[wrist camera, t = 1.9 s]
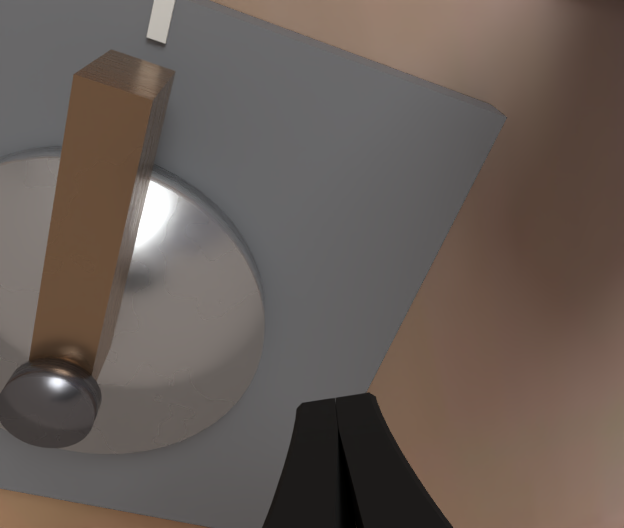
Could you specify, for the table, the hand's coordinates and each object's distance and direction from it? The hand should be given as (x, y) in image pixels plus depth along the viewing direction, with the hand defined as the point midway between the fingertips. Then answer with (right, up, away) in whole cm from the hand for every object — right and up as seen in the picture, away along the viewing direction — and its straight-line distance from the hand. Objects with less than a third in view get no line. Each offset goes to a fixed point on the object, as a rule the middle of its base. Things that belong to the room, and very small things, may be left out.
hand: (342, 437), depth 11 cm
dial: (-7, +3, +8) cm, 11 cm away
